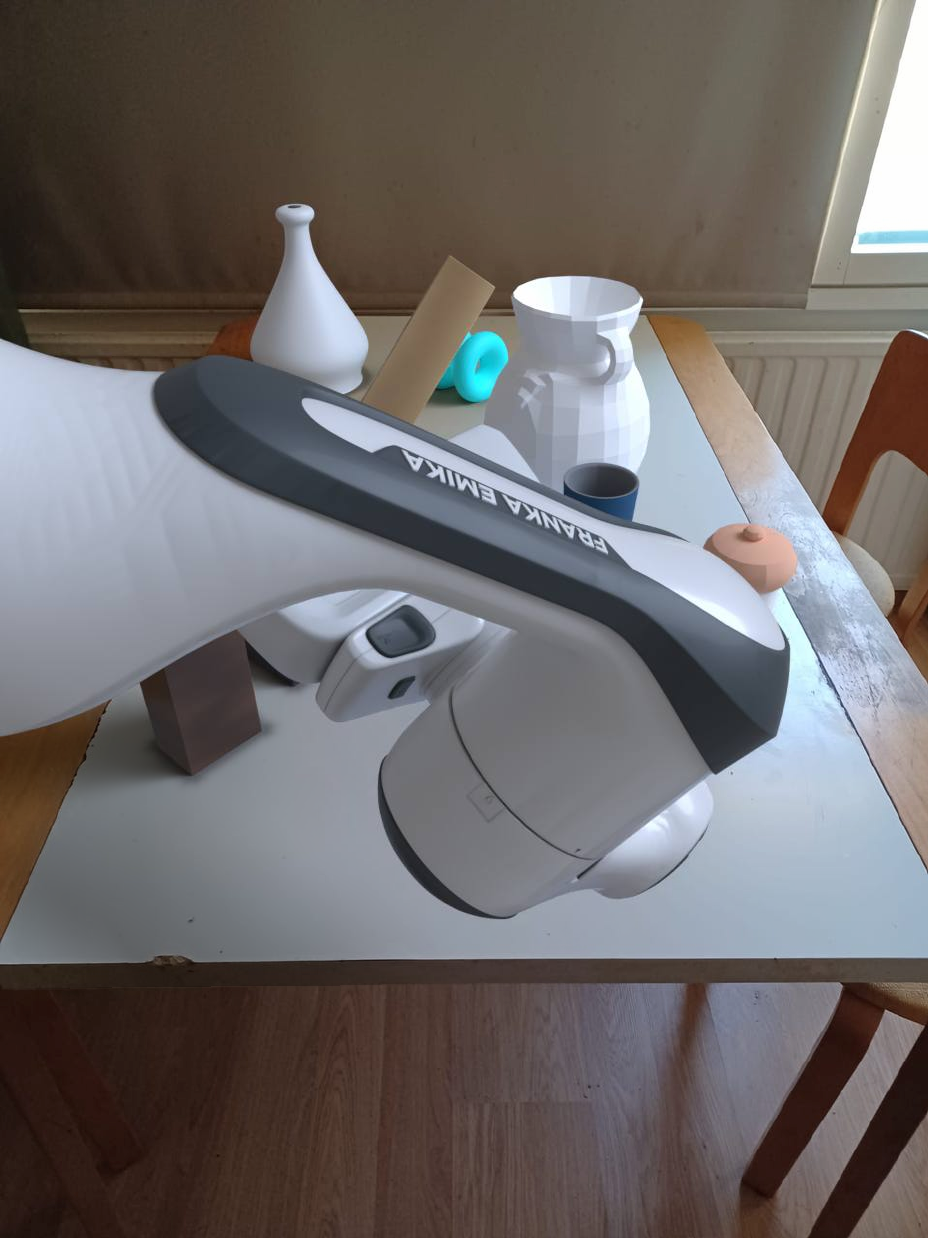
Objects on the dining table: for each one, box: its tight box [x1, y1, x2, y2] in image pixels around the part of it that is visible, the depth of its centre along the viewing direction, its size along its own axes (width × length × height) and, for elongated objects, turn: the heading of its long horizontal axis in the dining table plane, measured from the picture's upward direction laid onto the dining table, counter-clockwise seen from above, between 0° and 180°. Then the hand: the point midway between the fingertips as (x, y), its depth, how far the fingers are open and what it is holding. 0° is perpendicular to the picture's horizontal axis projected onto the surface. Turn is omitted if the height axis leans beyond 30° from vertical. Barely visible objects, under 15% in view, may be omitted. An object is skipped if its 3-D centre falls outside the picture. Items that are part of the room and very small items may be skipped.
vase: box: [249, 203, 369, 395], centre depth 131 cm, size 17×17×25 cm
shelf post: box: [139, 629, 263, 777], centre depth 69 cm, size 7×5×26 cm
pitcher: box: [483, 275, 651, 495], centre depth 100 cm, size 19×18×25 cm
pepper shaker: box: [702, 522, 798, 616], centre depth 73 cm, size 7×7×19 cm
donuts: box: [435, 330, 509, 403], centre depth 131 cm, size 10×10×10 cm
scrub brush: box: [359, 254, 496, 425], centre depth 49 cm, size 5×15×5 cm
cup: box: [564, 462, 640, 521], centre depth 86 cm, size 7×7×15 cm
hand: (307, 434), depth 51 cm, fingers closed on scrub brush, 5 cm apart
